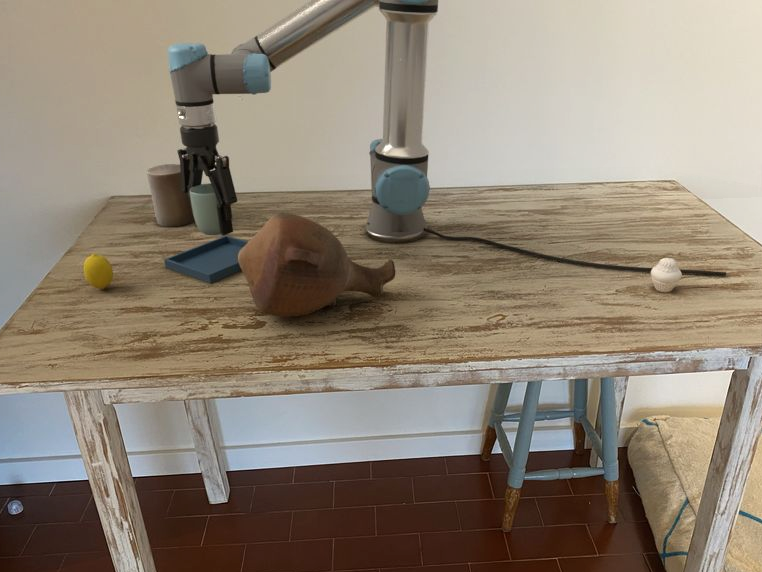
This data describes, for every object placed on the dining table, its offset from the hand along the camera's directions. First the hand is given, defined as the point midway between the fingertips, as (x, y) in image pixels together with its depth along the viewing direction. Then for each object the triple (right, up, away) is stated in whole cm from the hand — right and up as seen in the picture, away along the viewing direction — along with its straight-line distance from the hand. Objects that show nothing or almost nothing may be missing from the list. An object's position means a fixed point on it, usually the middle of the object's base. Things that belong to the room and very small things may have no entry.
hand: (214, 229), depth 158 cm
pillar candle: (-18, +7, +28) cm, 34 cm away
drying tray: (0, -7, +4) cm, 8 cm away
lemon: (-21, -14, -8) cm, 27 cm away
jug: (+26, -19, -16) cm, 36 cm away
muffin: (+97, -14, -10) cm, 98 cm away
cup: (0, -1, 0) cm, 1 cm away
